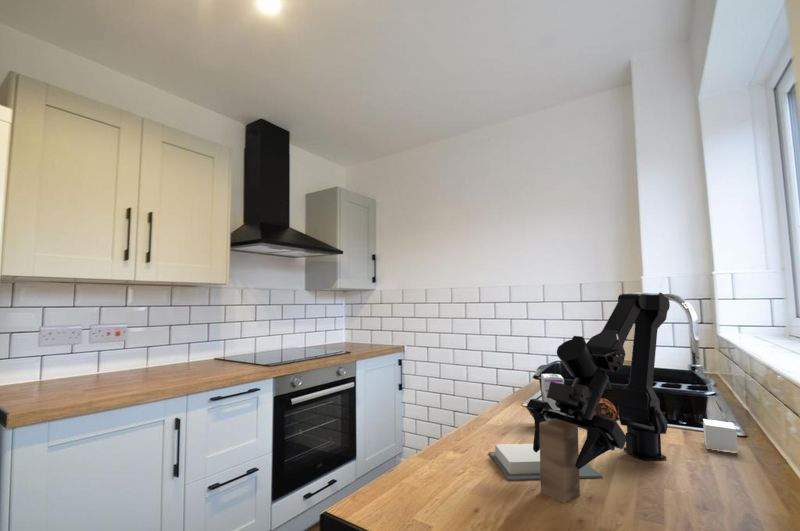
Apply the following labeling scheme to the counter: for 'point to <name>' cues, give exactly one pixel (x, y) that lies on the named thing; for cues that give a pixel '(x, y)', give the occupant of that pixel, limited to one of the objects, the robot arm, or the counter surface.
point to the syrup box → (545, 386)
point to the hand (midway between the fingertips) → (554, 458)
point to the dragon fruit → (607, 410)
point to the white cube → (720, 435)
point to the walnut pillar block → (559, 460)
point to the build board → (582, 472)
